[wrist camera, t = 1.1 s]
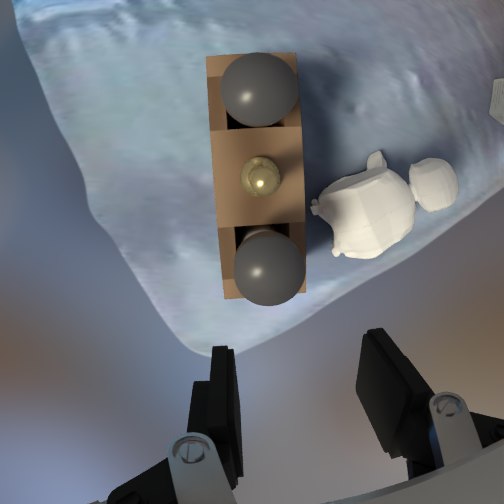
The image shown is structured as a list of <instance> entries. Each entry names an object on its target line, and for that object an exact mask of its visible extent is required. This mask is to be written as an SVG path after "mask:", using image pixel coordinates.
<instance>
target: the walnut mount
mask: <svg viewBox="0 0 504 504" xmlns="http://www.w3.org/2000/svg"><path fill="white" fill-rule="evenodd" d="M268 54H271V55H274V56H277V57H279V58H280V59H282V60H283V61H285V62H286V63H287V64H288V65H289V66H290V67H291V69H292V70H293V72H294V73H295V75H296V78H297V81H298V72H297V60H296V53H268ZM243 55H246V54H232V55H218V56H207V57H206V69H207V88H208V106H209V122H210V137H211V152H212V166H213V179H214V191H215V204H216V215H217V227H218V238H219V249H220V259H221V269H222V279H223V289H224V299H236V298H245V297H244V296H243V295H242V294H241V293H240V292H239V290H238V288H237V286H236V284H235V280H234V257H235V253H236V251H237V245H236V232H235V227H236V226H250V225H264V224H277V232H278V233H281V234H283V235H285V236H287V237H288V238H289V239H290V240H291V241H292V242H293V243H294V244H295V246H296V247H297V249H298V250H299V252H300V253H301V255H302V257H303V259H304V262H305V266H306V226H305V190H304V165H303V144H302V127H301V111H300V97H299V92H298V98H297V101H296V103H295V105H294V107H293V108H292V110H291V111H290V112H289V113H288V114H287V115H286V116H285V117H283V118H282V119H280V120H279V121H278V122H276V123H274V124H272V127H266V128H246V129H231V130H228V118H227V110H226V109H225V107H224V105H223V101H222V97H221V91H220V84H221V79H222V76H223V74H224V71H225V70H226V68H227V67H228V66H229V65H230V64H231V63H232V62H233V61H234V60H236V59H237V58H239V57H241V56H243ZM298 86H299V84H298ZM257 157H262V158H267V159H269V160H271V161H272V162H273V163H274V164H275V165H276V166H277V168H278V170H279V174H280V186H279V189H278V190H277V192H276V193H274V194H273V195H271V196H263V197H256V196H253V195H250V194H249V193H247V192H246V191H245V190H244V189H243V187H242V185H241V182H240V171H241V168H242V167H243V165H244V164H245V163H246V162H247V161H248V160H250V159H252V158H257ZM298 293H306V275H305V280H304V283H303V285H302V287H301V289H300V290H299V291H298Z"/></svg>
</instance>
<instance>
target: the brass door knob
mask: <svg viewBox="0 0 504 504" xmlns="http://www.w3.org/2000/svg"><path fill="white" fill-rule="evenodd" d="M240 182H241V185H242V187H243V189H244V190H245V191H246V192H247V193H249V194H250V195H253V196H256V197H263V196H271V195H273V194H274V193H276V192H277V190H278V189H279V186H280V174H279V170H278V168H277V166H276V165H275V164H274V163H273V162H272V161H271V160H269V159H267V158H262V157H257V158H252V159H250V160H248V161H247V162H246V163H245V164H244V165H243V167H242V168H241V171H240Z"/></svg>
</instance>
